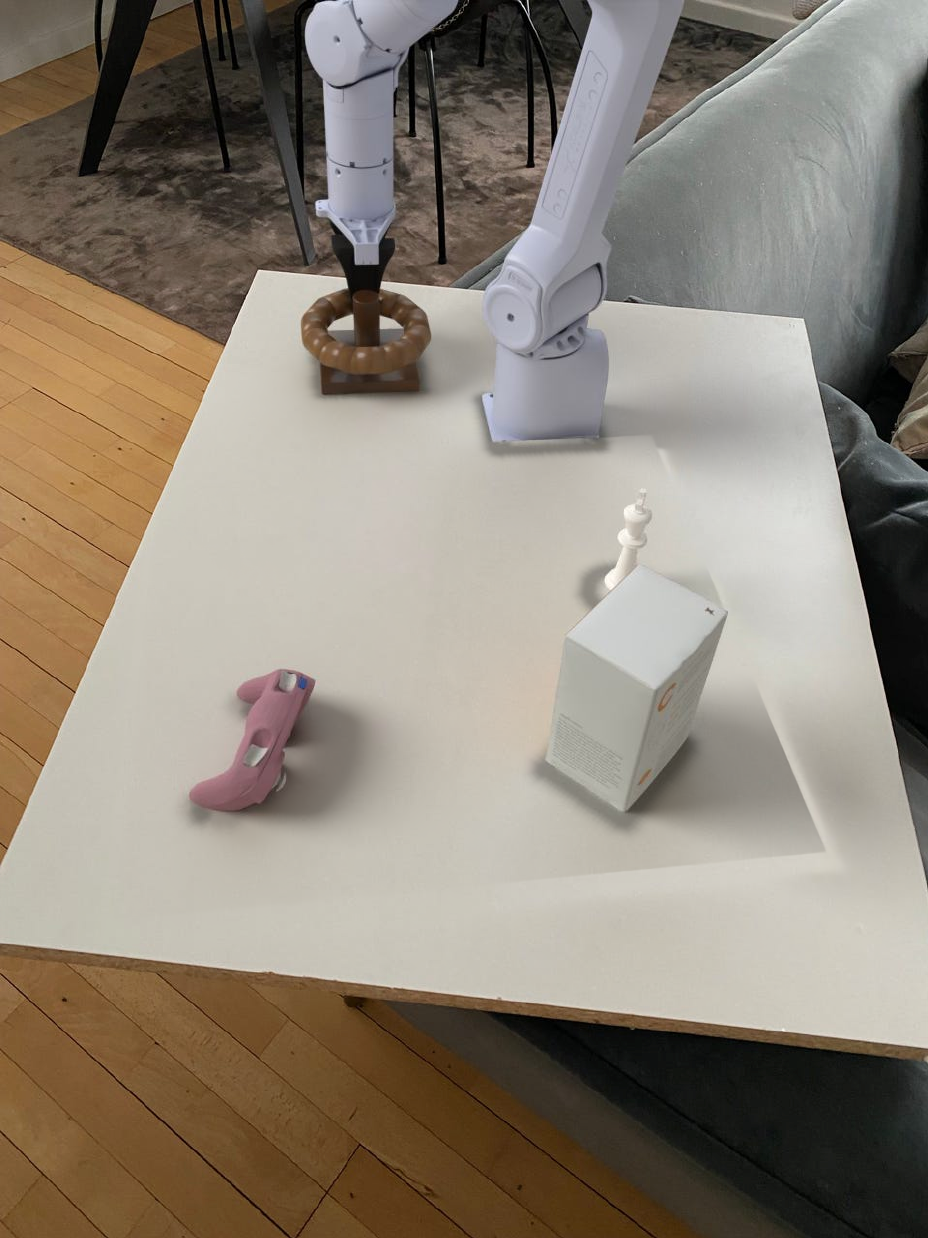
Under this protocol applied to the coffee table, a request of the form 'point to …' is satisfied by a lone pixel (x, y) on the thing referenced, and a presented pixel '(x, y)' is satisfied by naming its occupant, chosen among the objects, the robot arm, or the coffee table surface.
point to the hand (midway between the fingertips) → (363, 298)
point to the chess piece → (630, 539)
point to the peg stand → (368, 336)
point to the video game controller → (259, 742)
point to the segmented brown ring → (365, 357)
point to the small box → (631, 684)
